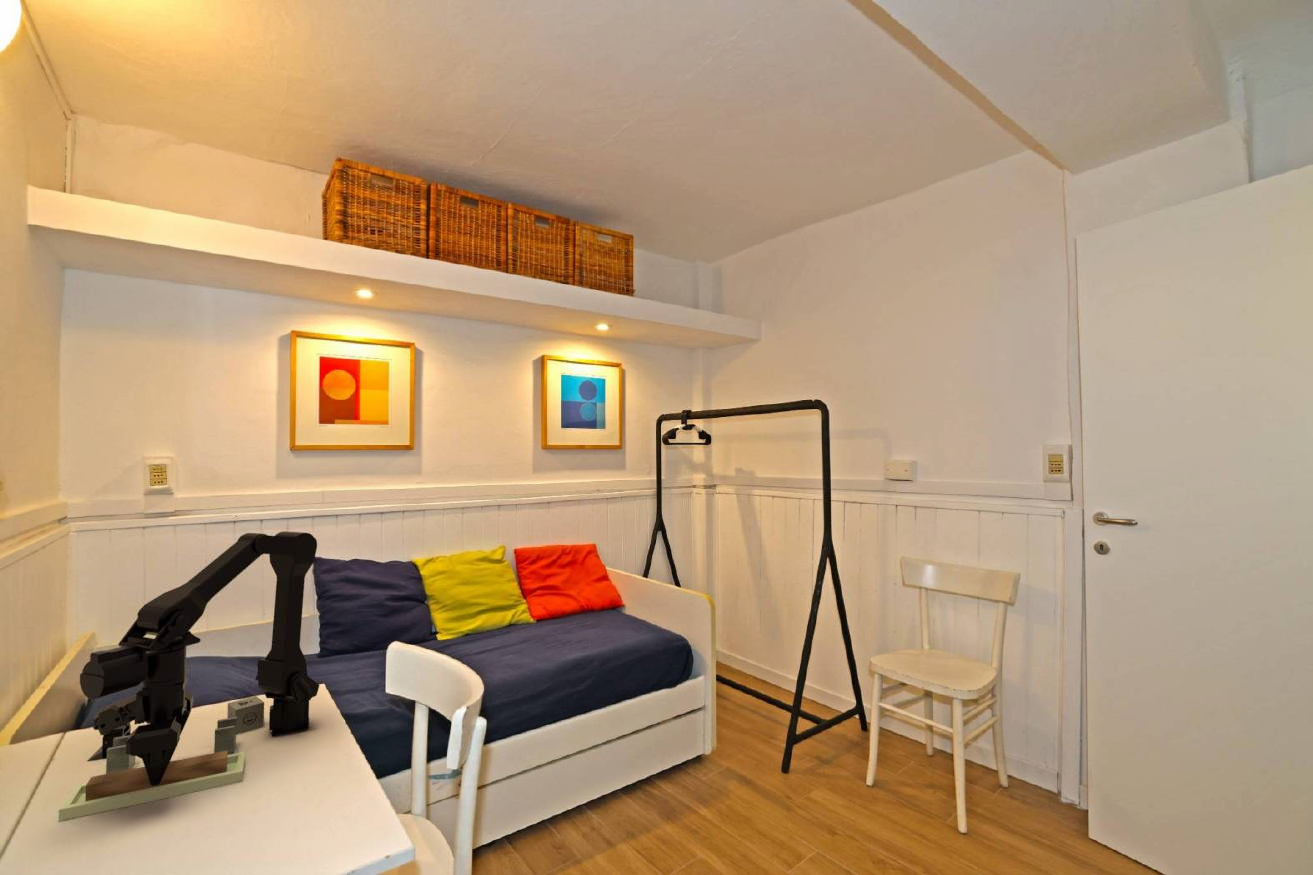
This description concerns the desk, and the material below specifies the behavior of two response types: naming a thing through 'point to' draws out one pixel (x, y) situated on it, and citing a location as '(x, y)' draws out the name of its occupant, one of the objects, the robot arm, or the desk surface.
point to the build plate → (110, 741)
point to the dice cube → (247, 713)
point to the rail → (174, 773)
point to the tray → (150, 791)
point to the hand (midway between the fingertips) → (160, 771)
